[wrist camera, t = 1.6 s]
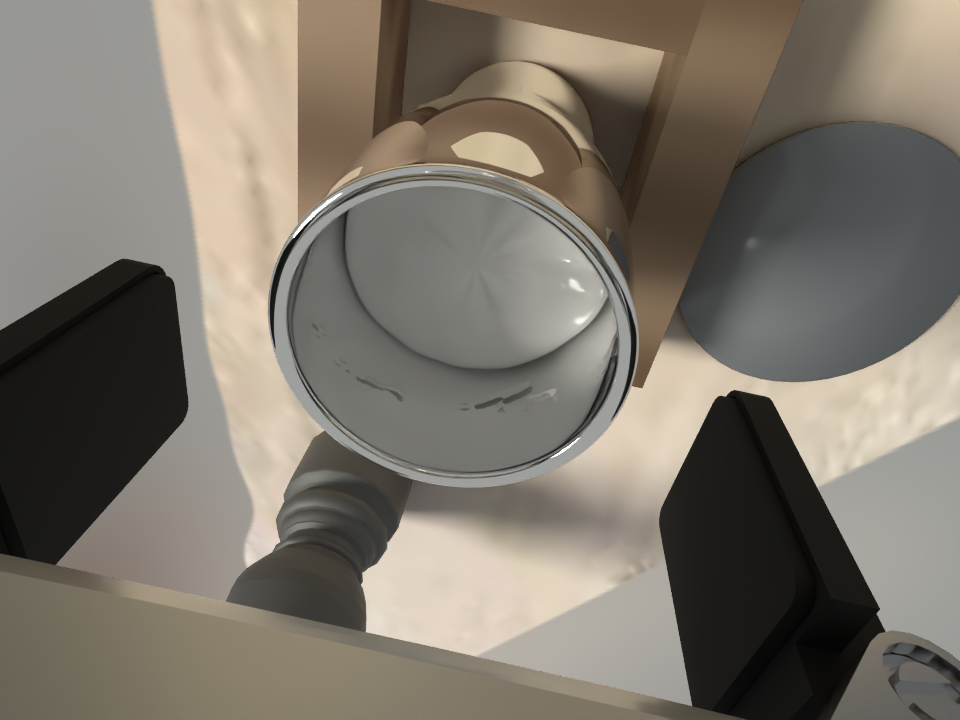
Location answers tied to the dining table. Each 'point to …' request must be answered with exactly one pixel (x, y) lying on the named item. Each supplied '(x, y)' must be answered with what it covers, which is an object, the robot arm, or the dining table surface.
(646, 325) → the frame
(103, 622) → the robot arm
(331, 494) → the candle holder
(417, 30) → the dining table surface
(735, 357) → the coaster
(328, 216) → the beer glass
